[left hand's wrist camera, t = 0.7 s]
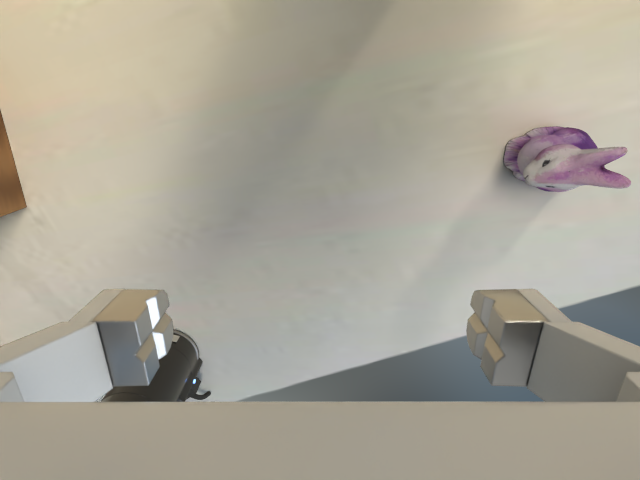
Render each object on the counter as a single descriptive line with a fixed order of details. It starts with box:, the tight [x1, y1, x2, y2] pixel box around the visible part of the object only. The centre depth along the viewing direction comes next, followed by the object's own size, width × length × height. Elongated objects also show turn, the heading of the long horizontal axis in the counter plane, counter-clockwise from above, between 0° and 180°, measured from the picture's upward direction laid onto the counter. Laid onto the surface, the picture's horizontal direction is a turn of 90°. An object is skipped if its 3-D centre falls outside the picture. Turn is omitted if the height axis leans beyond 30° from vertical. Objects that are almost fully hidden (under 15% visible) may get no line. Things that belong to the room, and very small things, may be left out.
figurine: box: [504, 127, 631, 192], centre depth 45 cm, size 9×10×15 cm
